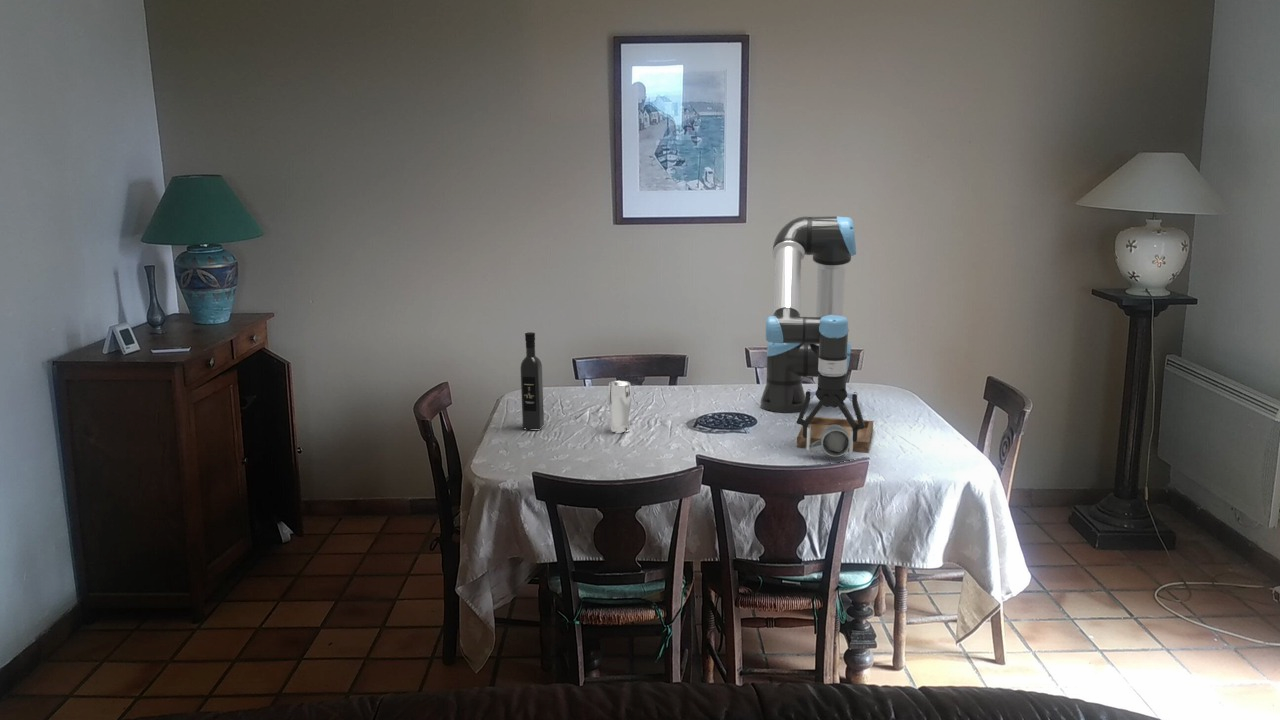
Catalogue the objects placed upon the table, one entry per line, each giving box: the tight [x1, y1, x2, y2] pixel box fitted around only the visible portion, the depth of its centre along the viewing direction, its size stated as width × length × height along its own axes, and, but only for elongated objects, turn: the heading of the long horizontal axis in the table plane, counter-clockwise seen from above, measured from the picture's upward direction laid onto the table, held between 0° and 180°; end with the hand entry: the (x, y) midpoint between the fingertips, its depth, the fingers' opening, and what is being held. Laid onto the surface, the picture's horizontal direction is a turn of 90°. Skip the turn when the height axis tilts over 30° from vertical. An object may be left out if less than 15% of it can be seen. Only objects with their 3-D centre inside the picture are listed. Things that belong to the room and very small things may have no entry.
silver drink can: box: [607, 380, 632, 432], centre depth 285 cm, size 7×7×15 cm
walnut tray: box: [796, 415, 874, 453], centre depth 276 cm, size 20×22×3 cm
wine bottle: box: [519, 331, 545, 430], centre depth 287 cm, size 6×6×30 cm
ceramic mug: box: [809, 424, 850, 458], centre depth 258 cm, size 11×8×8 cm
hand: (829, 450), depth 258 cm, fingers closed on ceramic mug, 11 cm apart
